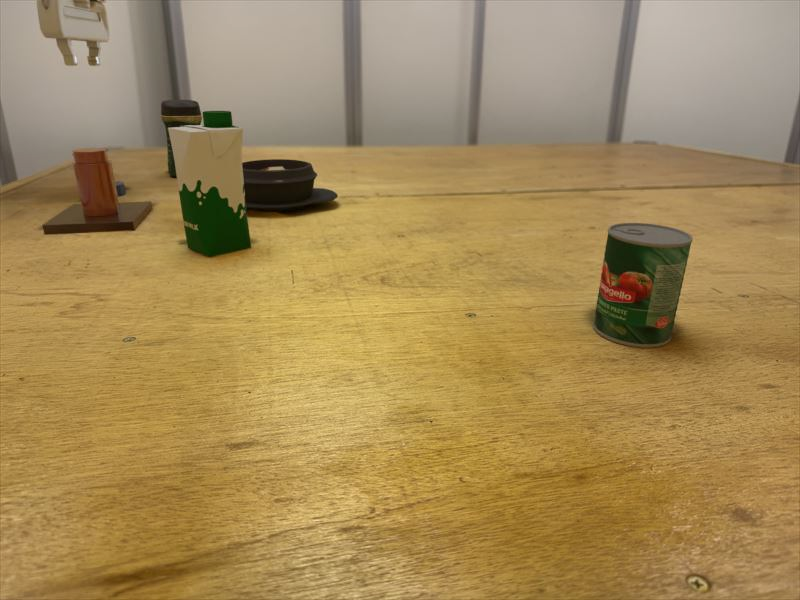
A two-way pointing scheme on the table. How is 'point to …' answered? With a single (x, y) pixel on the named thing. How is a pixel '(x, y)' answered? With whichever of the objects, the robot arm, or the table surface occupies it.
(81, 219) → the board
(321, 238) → the table surface
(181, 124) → the coffee jar
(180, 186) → the milk carton
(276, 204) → the casserole
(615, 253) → the canned tomato
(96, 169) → the honey jar
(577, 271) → the table surface
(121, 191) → the lid
